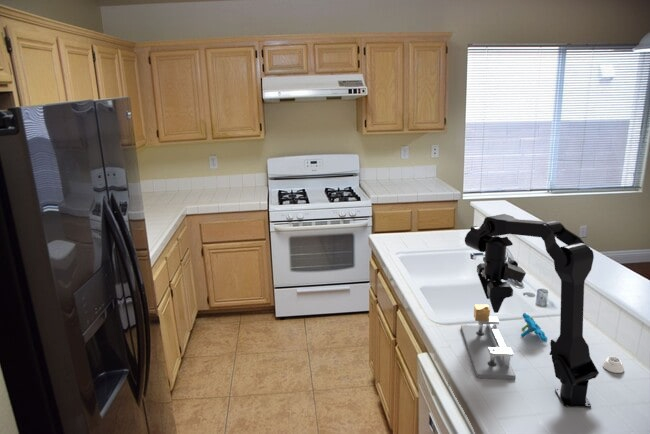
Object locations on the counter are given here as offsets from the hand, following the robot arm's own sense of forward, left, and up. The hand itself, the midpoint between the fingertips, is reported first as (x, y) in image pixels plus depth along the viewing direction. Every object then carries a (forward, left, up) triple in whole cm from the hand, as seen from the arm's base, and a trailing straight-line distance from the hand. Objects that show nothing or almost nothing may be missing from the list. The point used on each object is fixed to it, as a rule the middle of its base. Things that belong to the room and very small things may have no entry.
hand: (492, 305), depth 139 cm
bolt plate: (-6, +2, -12) cm, 14 cm away
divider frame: (-4, 0, -11) cm, 12 cm away
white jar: (-12, -31, -13) cm, 35 cm away
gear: (+3, -14, -13) cm, 19 cm away
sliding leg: (+2, +1, -11) cm, 11 cm away
